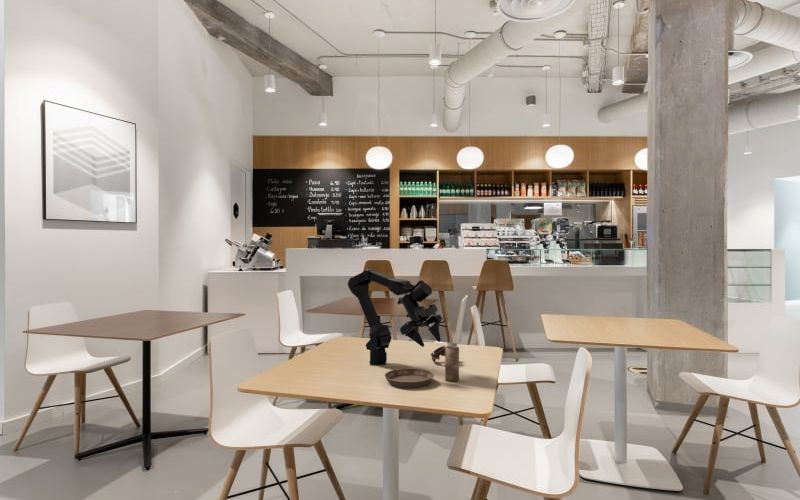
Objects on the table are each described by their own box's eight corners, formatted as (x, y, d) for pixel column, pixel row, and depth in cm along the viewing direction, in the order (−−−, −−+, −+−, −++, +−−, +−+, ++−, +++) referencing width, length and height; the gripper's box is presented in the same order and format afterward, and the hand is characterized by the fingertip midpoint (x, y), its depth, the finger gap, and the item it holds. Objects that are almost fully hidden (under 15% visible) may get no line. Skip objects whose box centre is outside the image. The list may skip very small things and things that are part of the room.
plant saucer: (391, 391, 162) (391, 382, 162) (379, 377, 179) (379, 369, 179) (440, 388, 167) (440, 379, 167) (424, 374, 184) (424, 366, 184)
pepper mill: (446, 382, 173) (446, 345, 173) (444, 378, 178) (444, 342, 178) (460, 382, 173) (460, 344, 173) (457, 378, 178) (457, 342, 178)
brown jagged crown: (452, 368, 195) (442, 351, 195) (434, 375, 200) (424, 358, 200) (463, 355, 205) (453, 338, 205) (445, 362, 210) (436, 345, 210)
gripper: (407, 301, 176) (427, 339, 170) (440, 294, 189) (460, 329, 183) (391, 316, 183) (410, 352, 177) (424, 308, 196) (443, 342, 190)
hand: (431, 343), depth 181 cm, fingers open, 9 cm apart
